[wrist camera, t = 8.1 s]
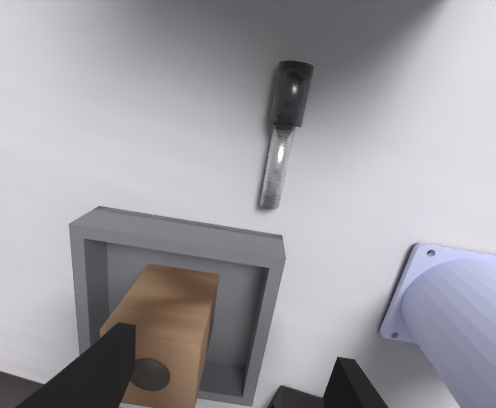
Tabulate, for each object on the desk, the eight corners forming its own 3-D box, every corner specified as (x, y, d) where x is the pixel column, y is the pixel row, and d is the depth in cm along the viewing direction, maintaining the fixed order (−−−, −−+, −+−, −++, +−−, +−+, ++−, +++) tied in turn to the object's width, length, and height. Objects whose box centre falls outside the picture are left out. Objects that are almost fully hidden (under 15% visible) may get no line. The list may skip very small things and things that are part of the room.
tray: (281, 235, 18) (285, 258, 15) (252, 368, 22) (251, 406, 19) (99, 206, 18) (68, 223, 15) (104, 345, 22) (81, 379, 19)
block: (219, 274, 19) (200, 346, 13) (212, 329, 20) (192, 415, 14) (149, 263, 19) (98, 331, 13) (147, 319, 20) (102, 401, 14)
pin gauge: (278, 64, 15) (280, 58, 13) (310, 70, 15) (316, 64, 13) (255, 200, 17) (254, 209, 16) (282, 204, 17) (284, 214, 16)
